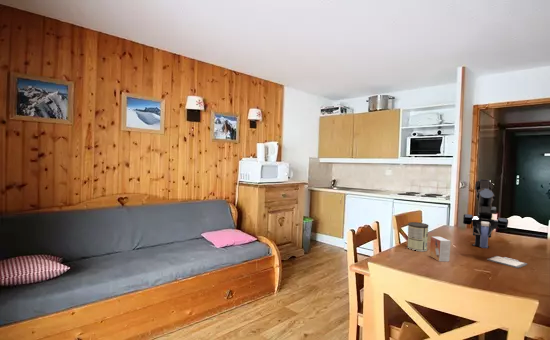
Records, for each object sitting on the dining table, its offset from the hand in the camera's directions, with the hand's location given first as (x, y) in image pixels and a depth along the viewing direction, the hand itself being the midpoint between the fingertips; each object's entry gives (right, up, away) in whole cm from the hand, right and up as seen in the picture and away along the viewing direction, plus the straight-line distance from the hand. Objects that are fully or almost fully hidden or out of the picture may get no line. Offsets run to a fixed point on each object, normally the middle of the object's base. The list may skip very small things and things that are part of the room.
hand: (484, 234), depth 150 cm
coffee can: (-25, -12, +19) cm, 34 cm away
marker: (+1, -7, +1) cm, 7 cm away
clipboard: (+12, -14, +1) cm, 18 cm away
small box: (-21, -13, +2) cm, 25 cm away
